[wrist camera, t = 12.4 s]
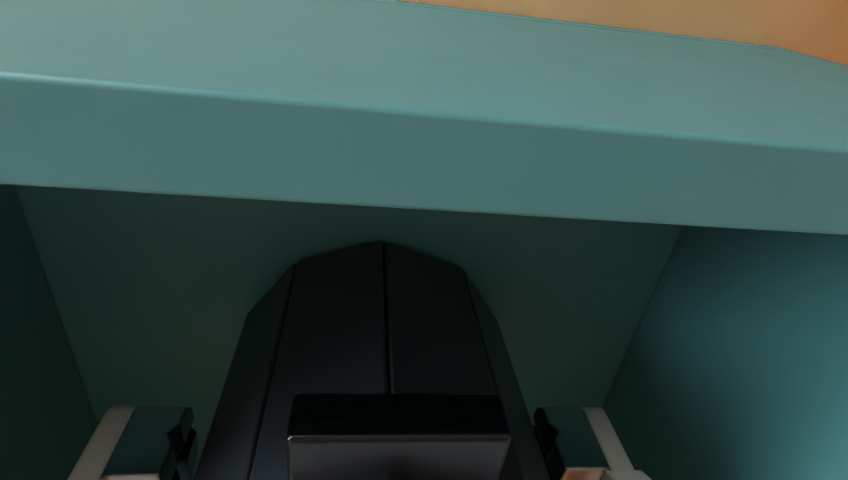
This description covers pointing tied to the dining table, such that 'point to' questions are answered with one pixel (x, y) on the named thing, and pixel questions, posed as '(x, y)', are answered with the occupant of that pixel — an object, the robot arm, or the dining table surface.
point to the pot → (371, 379)
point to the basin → (426, 212)
